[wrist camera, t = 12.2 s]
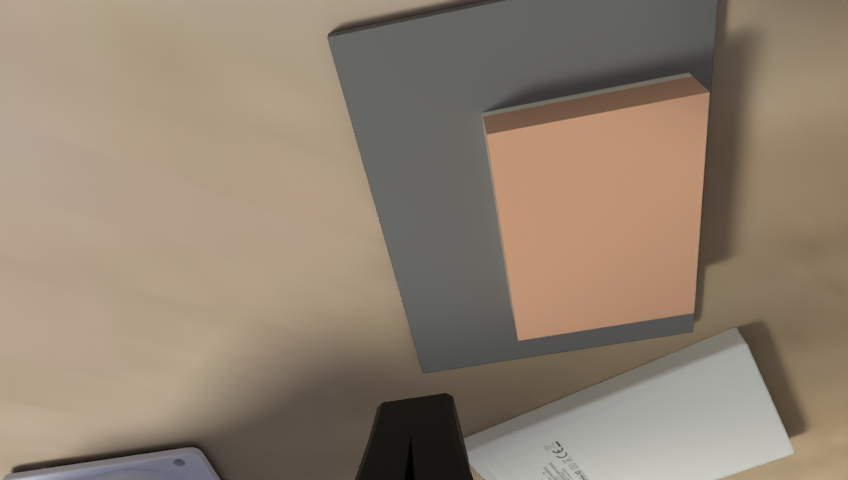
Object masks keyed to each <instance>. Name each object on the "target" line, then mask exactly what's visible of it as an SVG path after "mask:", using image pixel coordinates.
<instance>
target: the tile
mask: <svg viewBox="0 0 848 480" xmlns="http://www.w3.org/2000/svg"><path fill="white" fill-rule="evenodd" d="M709 96H710V92H709V91H708V90H707V89H706V88H705V87H704V86H703V85H702V84H700V83H699V82H698V81H697V80H696V79H695V78H694V77H693V76H692V75H691V74H690V73H684V74H679V75H673V76H668V77H663V78H658V79H653V80H648V81H642V82H637V83H632V84H627V85H622V86H617V87H611V88H606V89H601V90H596V91H591V92H586V93H581V94H575V95H570V96H565V97H560V98H555V99H550V100H544V101H539V102H534V103H529V104H524V105H519V106H513V107H508V108H503V109H498V110H493V111H488V112H483V113H482V120H483V126H484V133H485V139H486V146H487V152H488V159H489V165H490V171H491V178H492V184H493V191H494V197H495V204H496V210H497V217H498V223H499V230H500V236H501V242H502V249H503V255H504V262H505V268H506V275H507V281H508V288H509V294H510V301H511V307H512V313H513V318H514V323H515V327H516V332H517V337H518V341H520V340H526V339H533V338H539V337H545V336H552V335H558V334H564V333H571V332H577V331H583V330H590V329H596V328H602V327H609V326H615V325H621V324H628V323H634V322H640V321H647V320H653V319H659V318H666V317H672V316H678V315H685V314H691V313H694V307H695V293H696V279H697V265H698V251H699V237H700V223H701V208H702V194H703V180H704V166H705V152H706V138H707V124H708V110H709Z"/></svg>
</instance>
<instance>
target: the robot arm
mask: <svg viewBox="0 0 848 480" xmlns="http://www.w3.org/2000/svg"><path fill="white" fill-rule="evenodd" d="M2 480H220V478H219V477H218V475H217V474H216V472H215V471H214V469H213V468H212V466H211V464H210V463H209V461H208V460H207V458H206V457H205V455H204V454H203V452H202V451H201V450H199V449H197V448H194V447H187V448H180V449H174V450H167V451H160V452H153V453H146V454H140V455H133V456H126V457H119V458H113V459H106V460H99V461H92V462H85V463H79V464H72V465H65V466H58V467H52V468H45V469H38V470H31V471H25V472H18V473H11V474H7V475H5V476H4V478H3V479H2ZM355 480H473V477H472V475H471V472H470V467H469V461H468V455H467V451H466V447H465V443H464V439H463V435H462V431H461V427H460V423H459V419H458V415H457V411H456V407H455V403H454V399H453V396H451V395H449V394H447V393H444V394H437V395H430V396H424V397H417V398H410V399H404V400H397V401H390V402H384V403H381V404H380V406H379V407H378V408H377V412H376V416H375V420H374V423H373V427H372V430H371V434H370V437H369V440H368V444H367V447H366V450H365V453H364V456H363V459H362V461H361V464H360V467H359V470H358V473H357V476H356V478H355Z"/></svg>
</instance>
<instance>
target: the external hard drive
mask: <svg viewBox="0 0 848 480" xmlns="http://www.w3.org/2000/svg"><path fill="white" fill-rule="evenodd" d="M463 439H464V443H465V447H466V451H467V455H468V461H469V464H470V465H471V466H472V467H473V468H474V469H475V470H476V471H477V472H478V473H479V474H480V475H481V476H482V477H483V478H484V479H485V480H717V479H720V478H723V477H726V476H729V475H732V474H735V473H738V472H741V471H744V470H747V469H750V468H753V467H756V466H759V465H762V464H765V463H768V462H771V461H774V460H777V459H780V458H783V457H786V456H789V455H792V454H794V453H795V450H794V448H793V445H792V443H791V441H790V439H789V437H788V434H787V432H786V430H785V428H784V425H783V423H782V421H781V419H780V416H779V414H778V412H777V410H776V407H775V405H774V403H773V401H772V399H771V396H770V394H769V392H768V390H767V387H766V385H765V383H764V380H763V378H762V376H761V374H760V371H759V369H758V366H757V365H756V363H755V360H754V358H753V356H752V354H751V351H750V349H749V347H748V344H747V343H746V342H745V340H744V339H743V337H742V335H741V334H740V332H739V330H738V329H737V327H734V328H732V329H729V330H727V331H724V332H722V333H720V334H717V335H715V336H712V337H710V338H707V339H705V340H702V341H700V342H698V343H695V344H692V345H690V346H688V347H685V348H683V349H681V350H678V351H676V352H673V353H671V354H668V355H666V356H664V357H661V358H659V359H656V360H654V361H651V362H649V363H646V364H644V365H642V366H639V367H637V368H634V369H632V370H629V371H627V372H624V373H622V374H620V375H617V376H615V377H612V378H610V379H608V380H605V381H602V382H600V383H598V384H595V385H593V386H590V387H588V388H585V389H583V390H580V391H578V392H576V393H573V394H571V395H568V396H566V397H563V398H561V399H558V400H556V401H553V402H551V403H549V404H546V405H544V406H541V407H539V408H536V409H534V410H531V411H529V412H527V413H524V414H522V415H519V416H517V417H514V418H512V419H509V420H507V421H505V422H502V423H500V424H497V425H495V426H492V427H490V428H488V429H485V430H483V431H480V432H478V433H475V434H473V435H470V436H468V437H465V438H463Z"/></svg>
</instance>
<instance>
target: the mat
mask: <svg viewBox="0 0 848 480" xmlns="http://www.w3.org/2000/svg"><path fill="white" fill-rule="evenodd" d="M717 4H718V0H486V1H481V2H477V3H472V4H467V5H462V6H457V7H453V8H448V9H443V10H438V11H433V12H429V13H424V14H419V15H414V16H409V17H405V18H400V19H395V20H390V21H385V22H381V23H376V24H371V25H366V26H361V27H357V28H352V29H347V30H342V31H337V32H333V33H329V34H328V37H327V38H328V42H329V45H330V49H331V52H332V56H333V59H334V63H335V66H336V70H337V73H338V77H339V80H340V84H341V87H342V91H343V94H344V98H345V101H346V105H347V108H348V112H349V115H350V119H351V122H352V126H353V130H354V133H355V137H356V140H357V144H358V147H359V151H360V154H361V158H362V161H363V165H364V168H365V172H366V175H367V179H368V182H369V186H370V189H371V193H372V196H373V200H374V203H375V207H376V210H377V214H378V217H379V221H380V224H381V228H382V231H383V235H384V238H385V242H386V246H387V249H388V253H389V256H390V260H391V263H392V267H393V270H394V274H395V277H396V281H397V284H398V288H399V291H400V295H401V298H402V302H403V305H404V309H405V312H406V316H407V319H408V323H409V326H410V330H411V333H412V337H413V340H414V344H415V347H416V351H417V355H418V358H419V362H420V365H421V369H422V372H423V373H429V372H436V371H442V370H449V369H455V368H462V367H468V366H475V365H481V364H488V363H494V362H501V361H507V360H514V359H520V358H527V357H533V356H540V355H546V354H553V353H560V352H566V351H573V350H579V349H586V348H592V347H599V346H605V345H612V344H618V343H625V342H631V341H638V340H644V339H651V338H657V337H664V336H670V335H677V334H683V333H690V332H693V325H694V313H691V314H685V315H678V316H672V317H666V318H659V319H653V320H647V321H640V322H634V323H628V324H621V325H615V326H609V327H602V328H596V329H590V330H583V331H577V332H571V333H564V334H558V335H552V336H545V337H539V338H533V339H526V340H520V341H518V337H517V332H516V327H515V323H514V318H513V313H512V307H511V301H510V294H509V288H508V281H507V275H506V268H505V262H504V255H503V249H502V242H501V236H500V230H499V223H498V217H497V210H496V204H495V197H494V191H493V184H492V178H491V171H490V165H489V159H488V152H487V146H486V139H485V133H484V126H483V120H482V113H483V112H488V111H493V110H498V109H503V108H508V107H513V106H519V105H524V104H529V103H534V102H539V101H544V100H550V99H555V98H560V97H565V96H570V95H575V94H581V93H586V92H591V91H596V90H601V89H606V88H611V87H617V86H622V85H627V84H632V83H637V82H642V81H648V80H653V79H658V78H663V77H668V76H673V75H679V74H684V73H690V74H691V75H692V76H693V77H694V78H695V79H696V80H697V81H698V82H699V83H700V84H702V85H703V86H704V87H705V88H706V89H707V90H708V91H709V92H710V96H709V110H708V124H709V111H710V97H711V84H712V71H713V57H714V44H715V31H716V17H717ZM708 124H707V138H708ZM707 138H706V151H707ZM705 164H706V152H705ZM704 178H705V166H704ZM703 191H704V180H703ZM702 205H703V194H702ZM701 218H702V208H701ZM700 231H701V223H700ZM699 245H700V237H699ZM698 258H699V251H698ZM697 271H698V265H697ZM696 285H697V279H696ZM695 298H696V293H695ZM694 312H695V307H694Z"/></svg>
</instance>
